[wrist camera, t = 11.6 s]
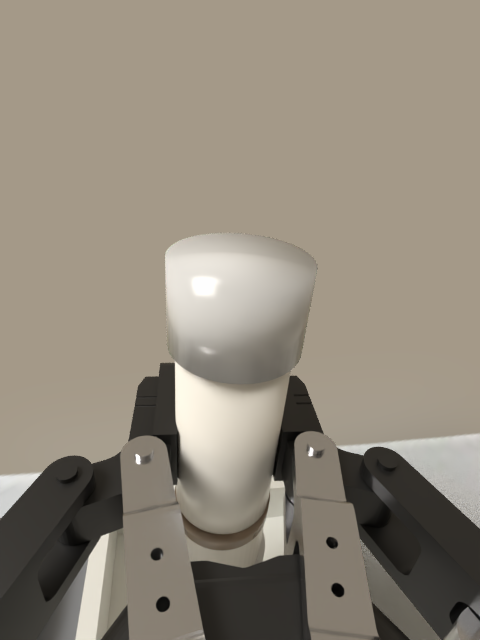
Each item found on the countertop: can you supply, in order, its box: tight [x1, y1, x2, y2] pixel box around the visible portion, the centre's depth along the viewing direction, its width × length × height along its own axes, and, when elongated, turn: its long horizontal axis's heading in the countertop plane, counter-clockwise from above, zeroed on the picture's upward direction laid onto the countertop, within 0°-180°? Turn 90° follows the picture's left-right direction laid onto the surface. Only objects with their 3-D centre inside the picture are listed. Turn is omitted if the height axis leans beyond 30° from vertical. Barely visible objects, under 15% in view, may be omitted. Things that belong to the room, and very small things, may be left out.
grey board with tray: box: [0, 476, 285, 640], centre depth 18 cm, size 26×14×4 cm, turn 99°
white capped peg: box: [165, 233, 318, 568], centre depth 13 cm, size 4×4×14 cm
